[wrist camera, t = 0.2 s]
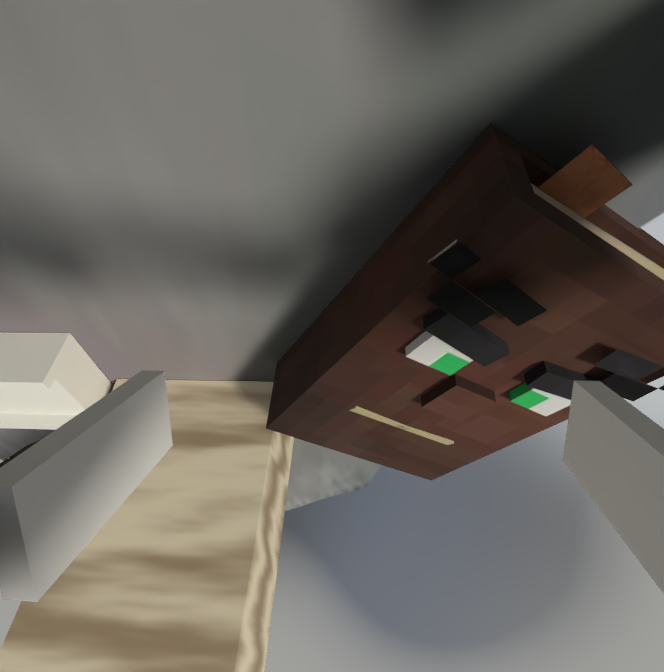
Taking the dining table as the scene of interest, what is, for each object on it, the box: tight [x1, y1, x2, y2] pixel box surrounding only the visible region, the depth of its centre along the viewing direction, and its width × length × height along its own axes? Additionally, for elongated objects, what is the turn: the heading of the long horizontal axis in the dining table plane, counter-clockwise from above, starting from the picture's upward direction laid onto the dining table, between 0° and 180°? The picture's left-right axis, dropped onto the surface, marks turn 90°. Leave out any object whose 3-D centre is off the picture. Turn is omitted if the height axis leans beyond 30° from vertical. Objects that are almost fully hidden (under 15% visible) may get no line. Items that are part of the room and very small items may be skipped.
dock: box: [0, 332, 112, 430], centre depth 41 cm, size 8×15×5 cm, turn 94°
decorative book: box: [266, 123, 664, 480], centre depth 32 cm, size 19×8×30 cm
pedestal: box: [0, 379, 294, 672], centre depth 37 cm, size 10×16×31 cm, turn 94°
